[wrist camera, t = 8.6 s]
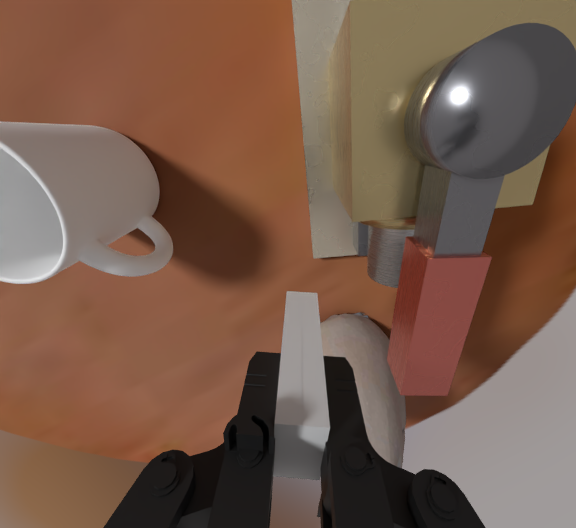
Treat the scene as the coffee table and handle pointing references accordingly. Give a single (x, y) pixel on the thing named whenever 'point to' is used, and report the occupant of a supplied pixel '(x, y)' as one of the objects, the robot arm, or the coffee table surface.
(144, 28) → the coffee table surface
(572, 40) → the valve body
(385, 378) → the sculpture
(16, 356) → the coffee table surface
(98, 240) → the mug
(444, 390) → the lever
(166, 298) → the coffee table surface
